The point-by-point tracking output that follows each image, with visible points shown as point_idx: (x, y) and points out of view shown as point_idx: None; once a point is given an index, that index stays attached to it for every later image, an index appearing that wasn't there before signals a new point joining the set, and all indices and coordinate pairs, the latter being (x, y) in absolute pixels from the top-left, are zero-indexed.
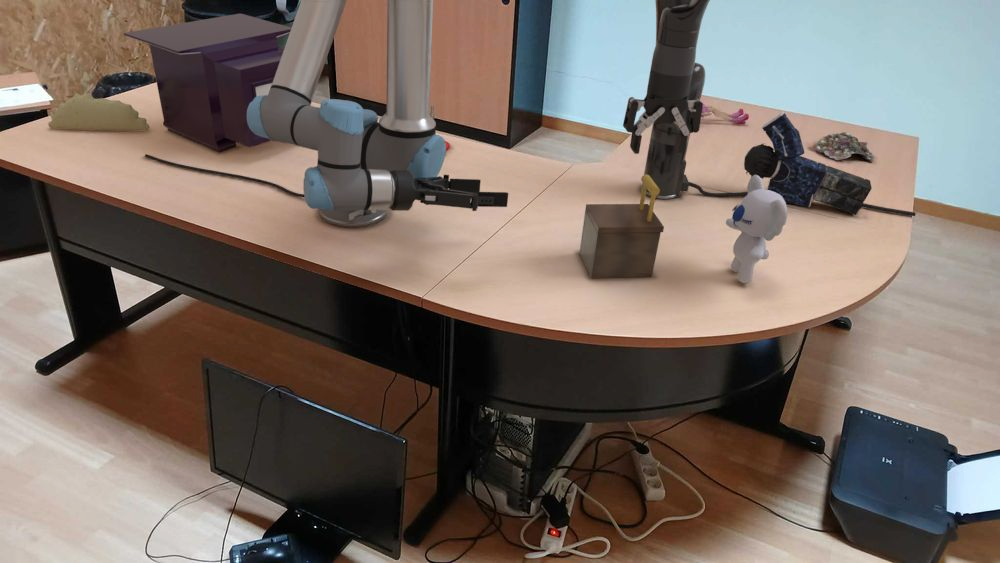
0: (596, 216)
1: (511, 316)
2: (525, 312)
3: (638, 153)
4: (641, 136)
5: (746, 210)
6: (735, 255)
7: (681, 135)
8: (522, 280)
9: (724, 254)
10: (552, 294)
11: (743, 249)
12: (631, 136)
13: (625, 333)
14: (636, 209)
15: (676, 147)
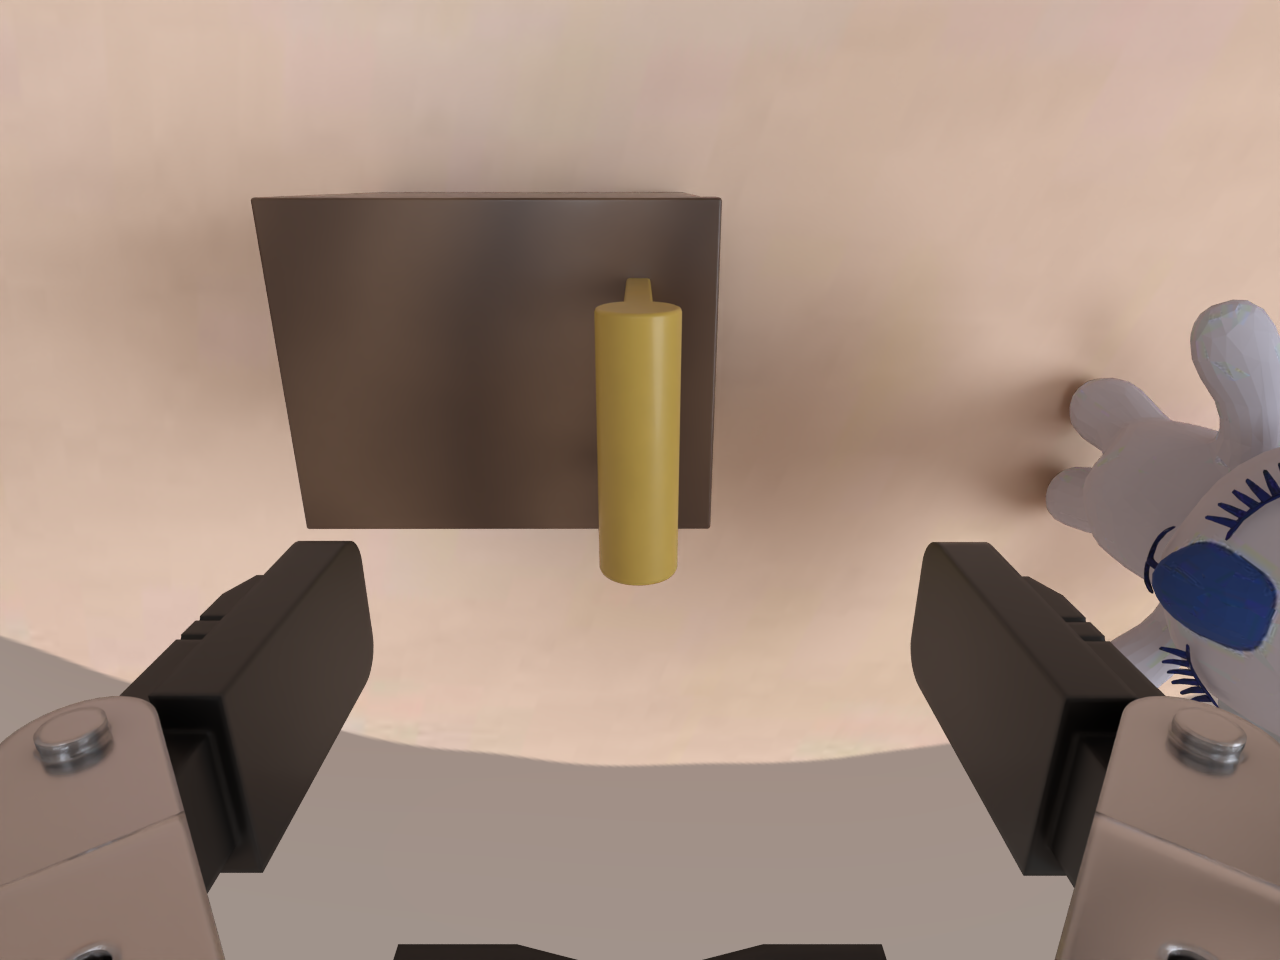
0: (307, 390)
1: (87, 651)
2: (135, 632)
3: (369, 663)
4: (260, 864)
5: (1251, 666)
6: (1083, 495)
7: (1038, 851)
8: (107, 427)
9: (1134, 233)
10: (235, 530)
11: (1118, 553)
12: (133, 686)
13: (473, 749)
14: (606, 291)
15: (942, 619)
